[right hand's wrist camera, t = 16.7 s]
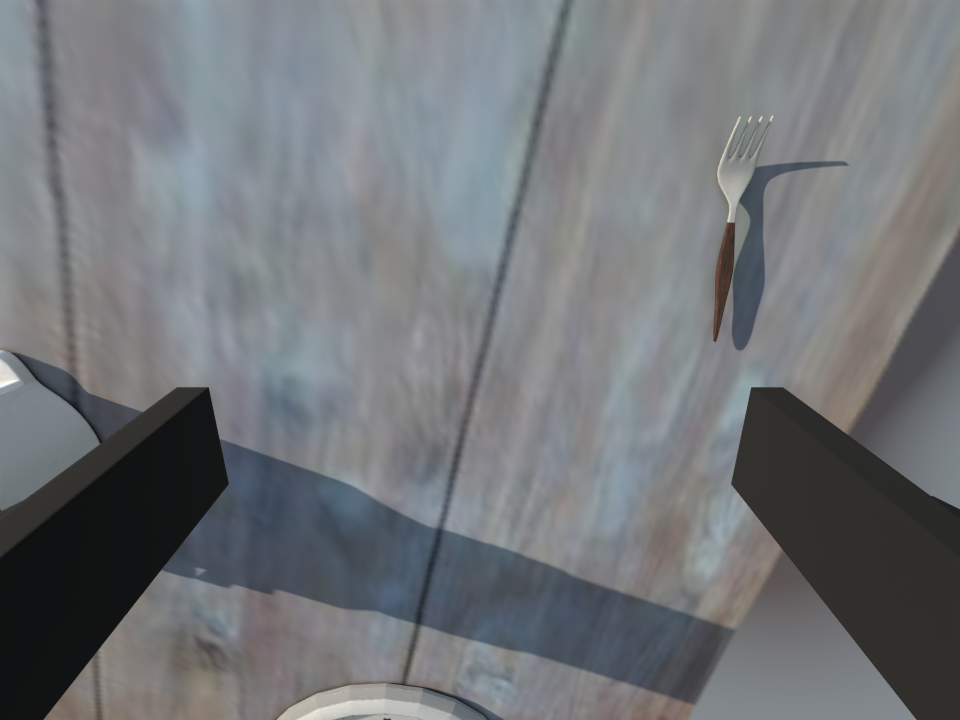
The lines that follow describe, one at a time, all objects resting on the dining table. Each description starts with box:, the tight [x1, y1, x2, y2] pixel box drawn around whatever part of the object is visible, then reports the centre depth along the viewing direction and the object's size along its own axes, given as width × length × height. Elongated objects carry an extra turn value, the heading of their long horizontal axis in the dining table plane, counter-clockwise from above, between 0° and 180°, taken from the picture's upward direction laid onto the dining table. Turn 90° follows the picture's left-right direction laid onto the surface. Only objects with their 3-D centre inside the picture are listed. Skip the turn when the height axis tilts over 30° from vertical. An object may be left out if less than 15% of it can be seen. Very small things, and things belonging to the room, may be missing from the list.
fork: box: [713, 116, 774, 342], centre depth 37 cm, size 3×16×2 cm, turn 2°
